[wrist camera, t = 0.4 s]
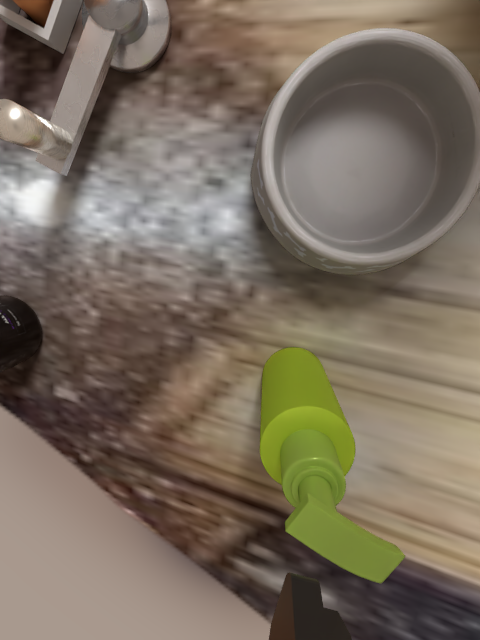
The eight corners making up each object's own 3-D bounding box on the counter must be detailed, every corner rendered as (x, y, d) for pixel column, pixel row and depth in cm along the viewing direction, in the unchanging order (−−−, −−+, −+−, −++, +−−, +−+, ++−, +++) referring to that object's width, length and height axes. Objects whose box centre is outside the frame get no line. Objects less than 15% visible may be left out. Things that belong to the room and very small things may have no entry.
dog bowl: (228, 238, 34) (221, 237, 29) (300, 16, 30) (306, -31, 25) (406, 299, 34) (431, 310, 29) (501, 85, 31) (550, 53, 25)
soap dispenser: (310, 421, 37) (358, 622, 18) (250, 384, 37) (232, 548, 17) (345, 374, 36) (439, 533, 16) (284, 335, 36) (304, 451, 16)
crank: (110, -24, 29) (51, -124, 21) (156, 2, 30) (114, -88, 21) (42, 161, 33) (-33, 134, 24) (84, 183, 33) (23, 164, 25)
